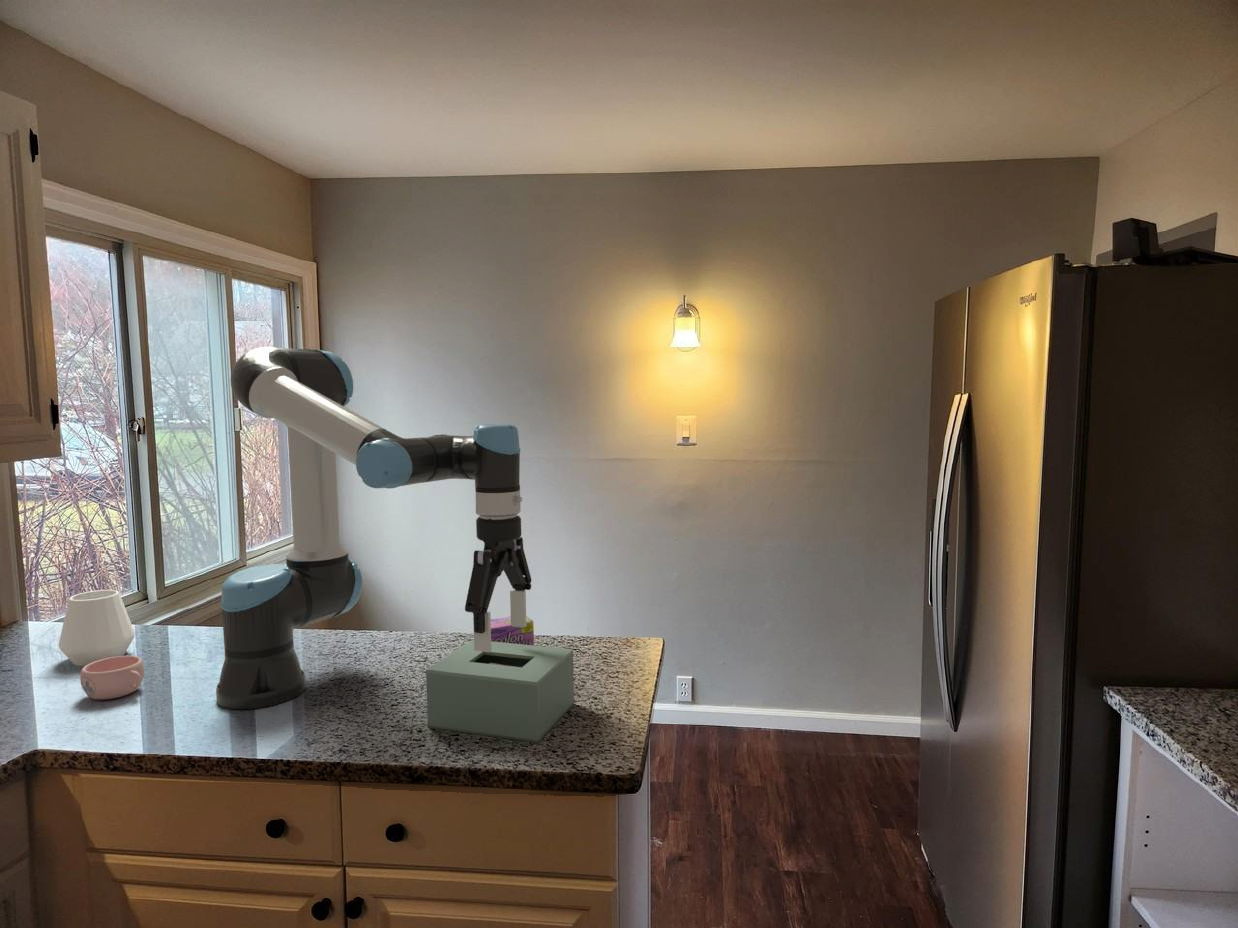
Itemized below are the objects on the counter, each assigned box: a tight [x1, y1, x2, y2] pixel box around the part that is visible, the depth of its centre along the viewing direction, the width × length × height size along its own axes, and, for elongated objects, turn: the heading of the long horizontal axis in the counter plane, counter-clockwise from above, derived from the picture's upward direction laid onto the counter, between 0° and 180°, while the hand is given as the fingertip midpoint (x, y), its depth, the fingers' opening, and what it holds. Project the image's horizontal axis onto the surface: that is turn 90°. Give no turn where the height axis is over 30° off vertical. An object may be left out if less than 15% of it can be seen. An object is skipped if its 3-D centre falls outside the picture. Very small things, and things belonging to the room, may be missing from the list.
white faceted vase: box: [58, 589, 136, 667], centre depth 160 cm, size 13×13×14 cm
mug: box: [79, 655, 145, 700], centre depth 140 cm, size 12×10×6 cm
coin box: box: [425, 639, 575, 744], centre depth 129 cm, size 20×16×10 cm
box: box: [491, 615, 535, 646], centre depth 146 cm, size 10×6×12 cm, turn 117°
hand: (501, 638), depth 128 cm, fingers open, 13 cm apart
